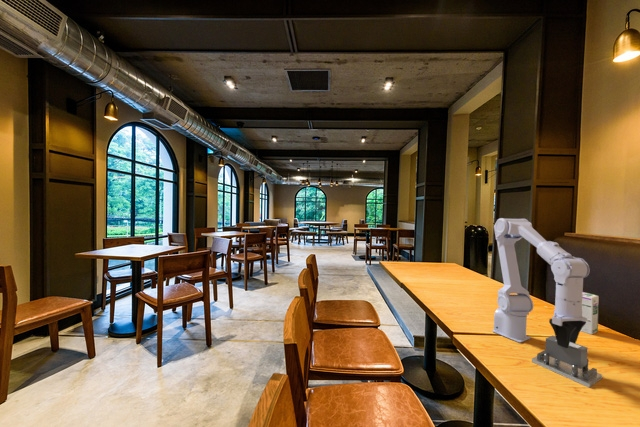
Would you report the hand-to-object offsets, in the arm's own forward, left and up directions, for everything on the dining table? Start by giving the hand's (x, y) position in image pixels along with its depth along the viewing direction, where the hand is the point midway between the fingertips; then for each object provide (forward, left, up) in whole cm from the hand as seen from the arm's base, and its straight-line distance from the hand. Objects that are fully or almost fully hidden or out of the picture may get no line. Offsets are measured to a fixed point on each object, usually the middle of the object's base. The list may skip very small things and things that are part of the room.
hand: (566, 344), depth 77 cm
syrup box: (-8, +41, -8) cm, 42 cm away
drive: (0, 0, -5) cm, 5 cm away
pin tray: (0, 0, -8) cm, 8 cm away
